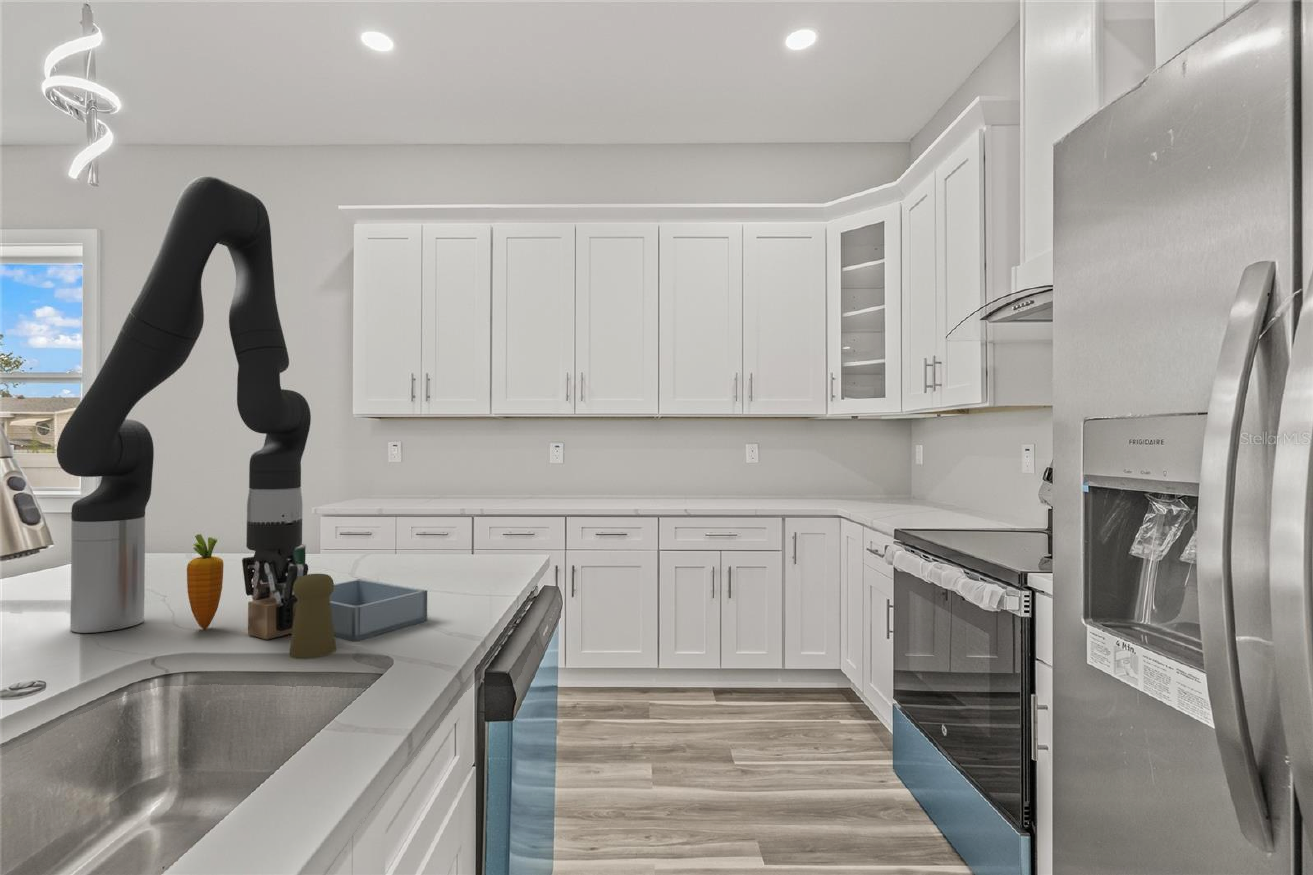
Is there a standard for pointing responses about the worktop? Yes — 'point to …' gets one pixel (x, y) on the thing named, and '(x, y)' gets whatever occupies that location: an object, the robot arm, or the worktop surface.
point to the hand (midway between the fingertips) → (273, 626)
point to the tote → (374, 608)
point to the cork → (313, 617)
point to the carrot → (204, 582)
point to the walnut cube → (265, 619)
